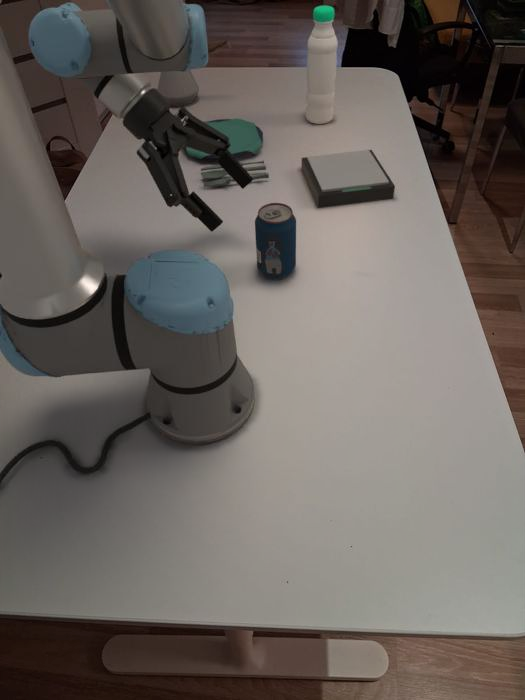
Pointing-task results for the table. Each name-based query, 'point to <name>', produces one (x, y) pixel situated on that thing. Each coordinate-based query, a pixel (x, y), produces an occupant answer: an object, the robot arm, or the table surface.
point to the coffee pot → (181, 83)
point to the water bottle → (321, 67)
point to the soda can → (275, 240)
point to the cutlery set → (233, 148)
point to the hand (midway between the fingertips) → (233, 204)
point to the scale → (346, 178)
